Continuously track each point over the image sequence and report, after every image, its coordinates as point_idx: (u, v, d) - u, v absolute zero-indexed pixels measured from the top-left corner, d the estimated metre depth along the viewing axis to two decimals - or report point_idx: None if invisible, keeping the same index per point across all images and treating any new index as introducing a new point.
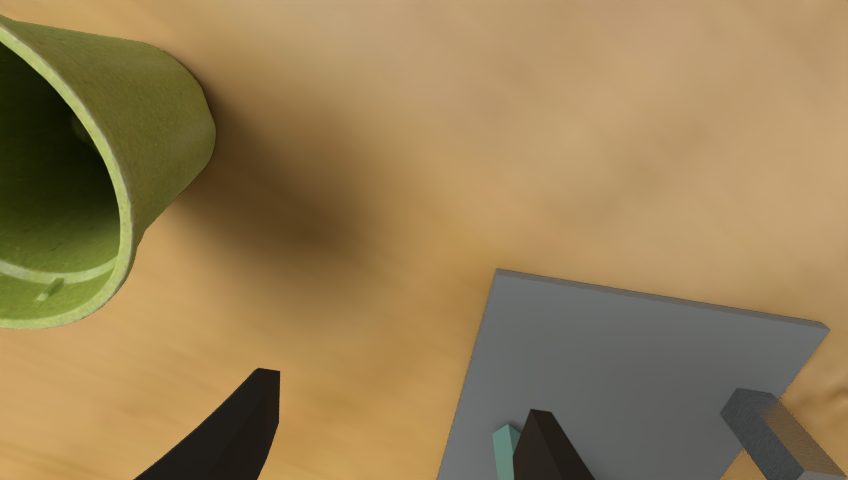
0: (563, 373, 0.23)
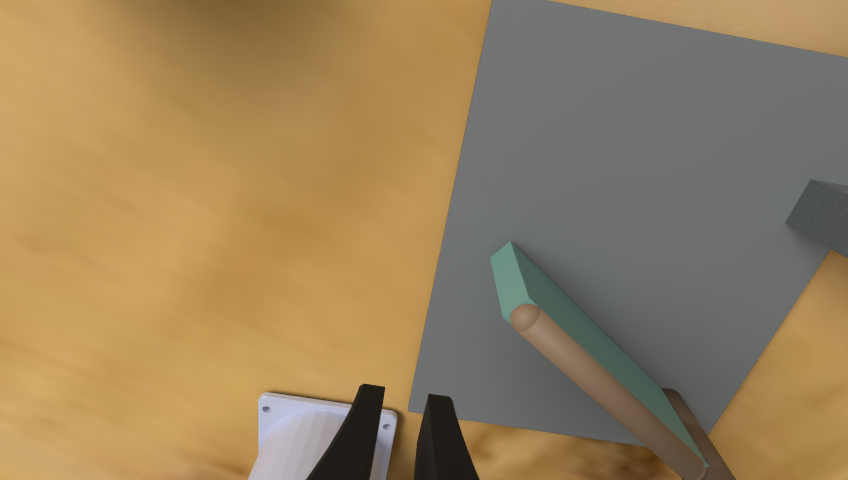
0: (582, 161, 0.18)
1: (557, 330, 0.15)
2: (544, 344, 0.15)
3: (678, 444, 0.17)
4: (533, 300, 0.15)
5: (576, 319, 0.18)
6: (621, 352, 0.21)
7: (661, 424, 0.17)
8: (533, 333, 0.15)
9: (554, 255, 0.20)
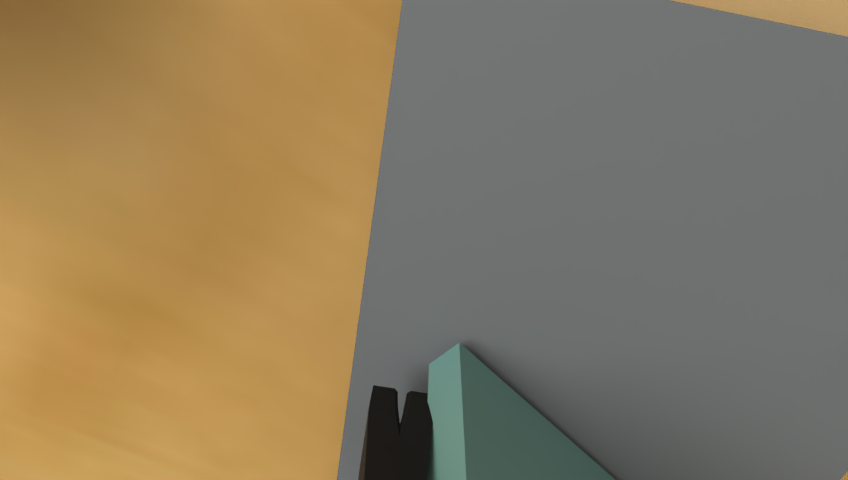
0: (565, 231, 0.11)
1: None
2: None
3: None
4: None
5: (557, 474, 0.12)
6: None
7: None
8: None
9: (524, 362, 0.13)
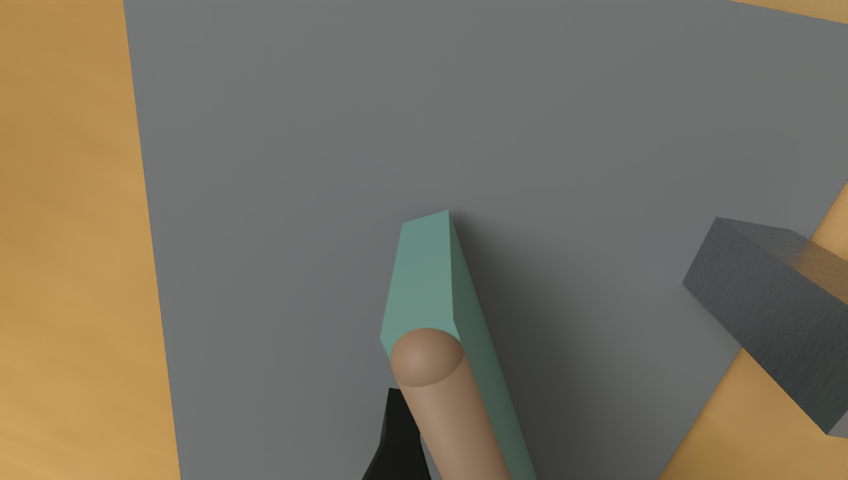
0: (342, 185, 0.11)
1: (476, 408, 0.07)
2: (439, 428, 0.07)
3: None
4: (458, 329, 0.07)
5: (496, 382, 0.10)
6: (524, 446, 0.13)
7: None
8: (428, 399, 0.07)
9: (334, 326, 0.13)
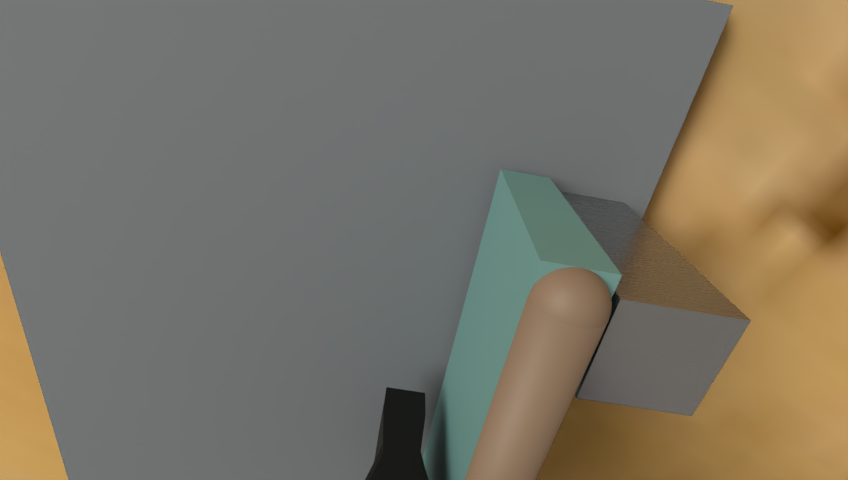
0: (168, 158, 0.11)
1: (584, 372, 0.07)
2: (549, 376, 0.06)
3: None
4: (613, 286, 0.06)
5: None
6: None
7: None
8: (566, 342, 0.06)
9: (187, 305, 0.13)
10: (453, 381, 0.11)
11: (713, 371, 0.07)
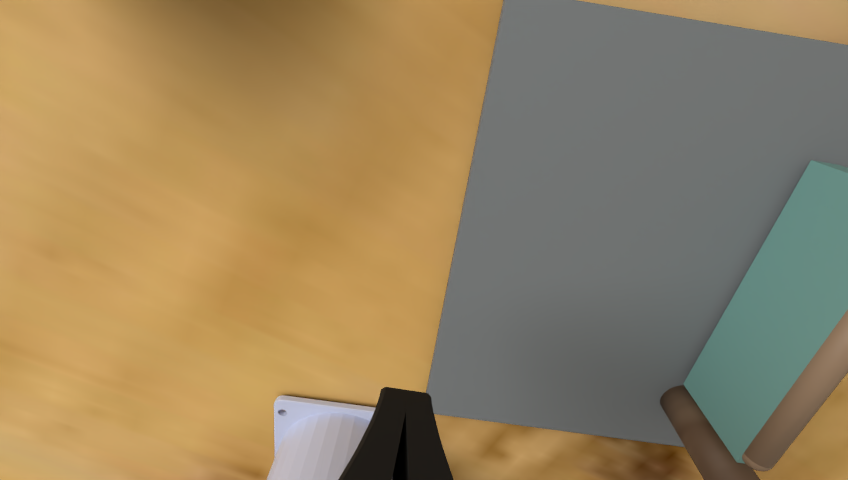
0: (597, 158, 0.18)
1: None
2: None
3: (799, 431, 0.17)
4: None
5: None
6: None
7: None
8: None
9: (569, 253, 0.20)
10: (764, 293, 0.18)
11: None
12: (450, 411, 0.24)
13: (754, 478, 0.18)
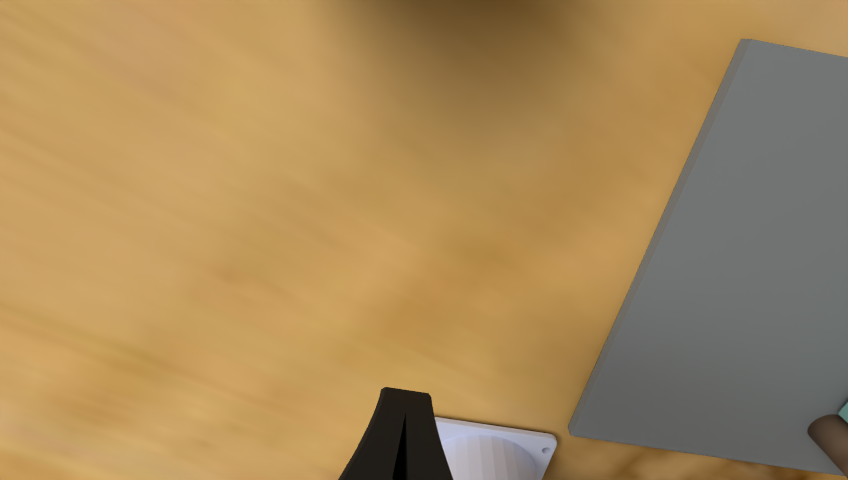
0: (800, 199, 0.18)
1: None
2: None
3: None
4: None
5: None
6: None
7: None
8: None
9: (751, 288, 0.20)
10: None
11: None
12: (598, 435, 0.25)
13: None
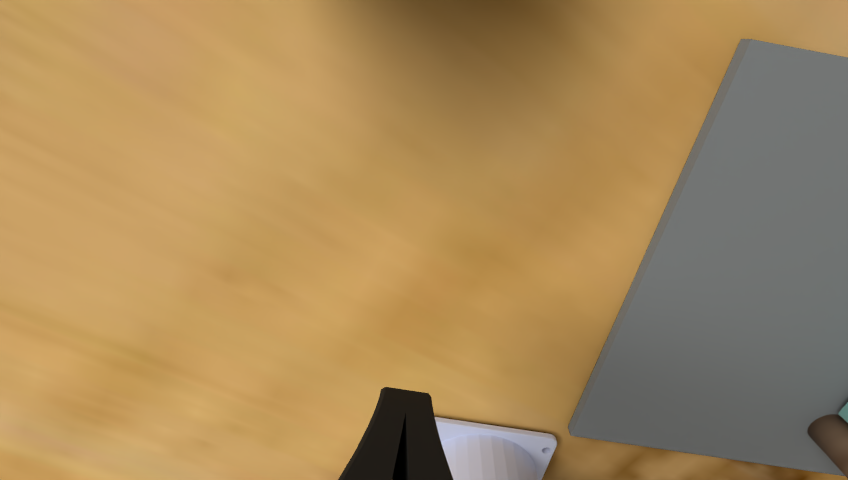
0: (800, 199, 0.18)
1: None
2: None
3: None
4: None
5: None
6: None
7: None
8: None
9: (751, 288, 0.20)
10: None
11: None
12: (598, 435, 0.25)
13: None
